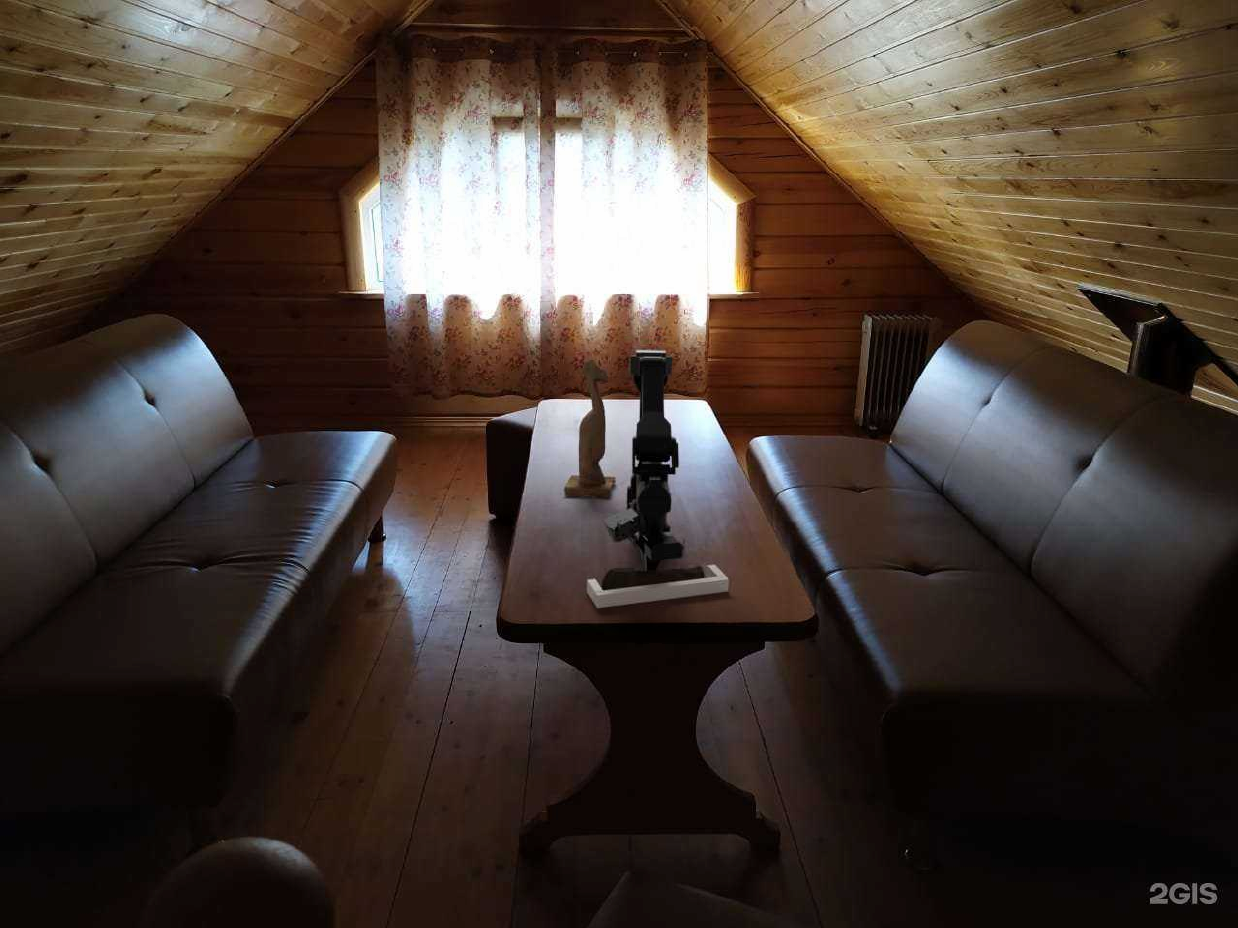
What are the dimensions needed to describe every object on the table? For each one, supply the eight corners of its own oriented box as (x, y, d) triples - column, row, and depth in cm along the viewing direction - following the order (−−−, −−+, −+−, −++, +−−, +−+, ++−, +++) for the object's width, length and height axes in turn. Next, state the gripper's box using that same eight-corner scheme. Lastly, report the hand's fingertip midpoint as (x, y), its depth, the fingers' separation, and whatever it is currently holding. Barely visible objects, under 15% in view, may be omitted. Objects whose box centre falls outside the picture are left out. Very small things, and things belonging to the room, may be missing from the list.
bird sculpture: (613, 500, 207) (620, 366, 197) (563, 497, 207) (568, 363, 198) (615, 485, 218) (622, 357, 208) (568, 482, 218) (572, 354, 208)
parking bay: (587, 592, 160) (587, 579, 159) (713, 576, 167) (714, 564, 167) (597, 608, 154) (597, 595, 153) (728, 591, 162) (728, 578, 161)
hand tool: (700, 581, 166) (701, 559, 164) (705, 591, 162) (706, 568, 161) (600, 586, 163) (600, 563, 162) (603, 596, 160) (603, 572, 158)
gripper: (595, 484, 166) (594, 560, 171) (625, 519, 149) (623, 602, 154) (650, 479, 169) (648, 554, 174) (686, 513, 152) (683, 595, 157)
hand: (649, 575), depth 165 cm, fingers closed
